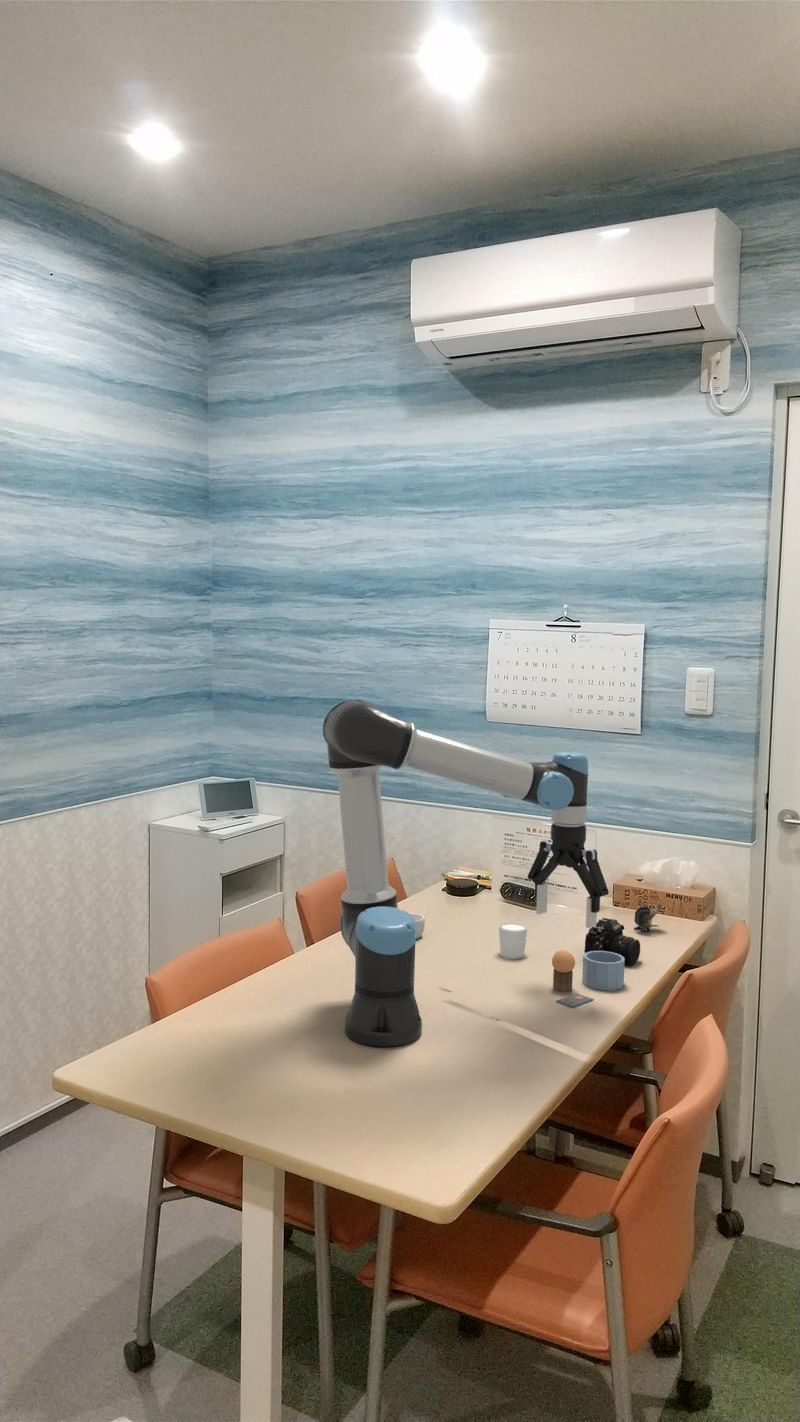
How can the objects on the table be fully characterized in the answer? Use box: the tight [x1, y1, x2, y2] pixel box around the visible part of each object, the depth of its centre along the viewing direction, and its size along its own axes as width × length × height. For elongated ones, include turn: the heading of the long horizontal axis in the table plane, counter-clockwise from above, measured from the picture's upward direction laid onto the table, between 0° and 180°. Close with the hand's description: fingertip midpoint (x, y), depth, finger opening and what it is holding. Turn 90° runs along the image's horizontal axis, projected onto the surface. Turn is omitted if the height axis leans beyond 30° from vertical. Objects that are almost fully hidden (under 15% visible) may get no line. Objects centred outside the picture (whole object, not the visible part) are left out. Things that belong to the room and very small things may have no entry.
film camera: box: [583, 917, 641, 966], centre depth 236 cm, size 18×12×10 cm
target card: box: [555, 992, 594, 1009], centre depth 209 cm, size 7×4×1 cm, turn 132°
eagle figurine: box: [633, 904, 662, 934], centre depth 258 cm, size 8×7×9 cm
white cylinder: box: [498, 923, 528, 960], centre depth 239 cm, size 7×7×7 cm
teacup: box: [408, 912, 426, 940], centre depth 251 cm, size 10×8×5 cm
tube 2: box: [581, 951, 625, 991], centre depth 221 cm, size 9×9×6 cm
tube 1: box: [552, 968, 574, 993], centre depth 217 cm, size 4×4×4 cm
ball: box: [551, 949, 576, 973], centre depth 216 cm, size 5×5×5 cm
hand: (565, 919), depth 216 cm, fingers open, 13 cm apart
